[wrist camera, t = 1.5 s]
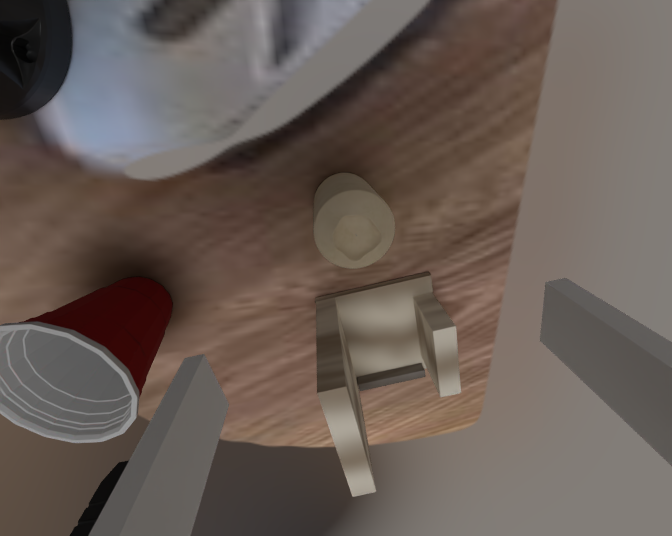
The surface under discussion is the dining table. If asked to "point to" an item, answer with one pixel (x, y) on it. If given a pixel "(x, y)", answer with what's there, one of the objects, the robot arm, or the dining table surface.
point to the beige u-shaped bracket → (378, 357)
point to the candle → (351, 221)
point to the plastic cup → (83, 362)
